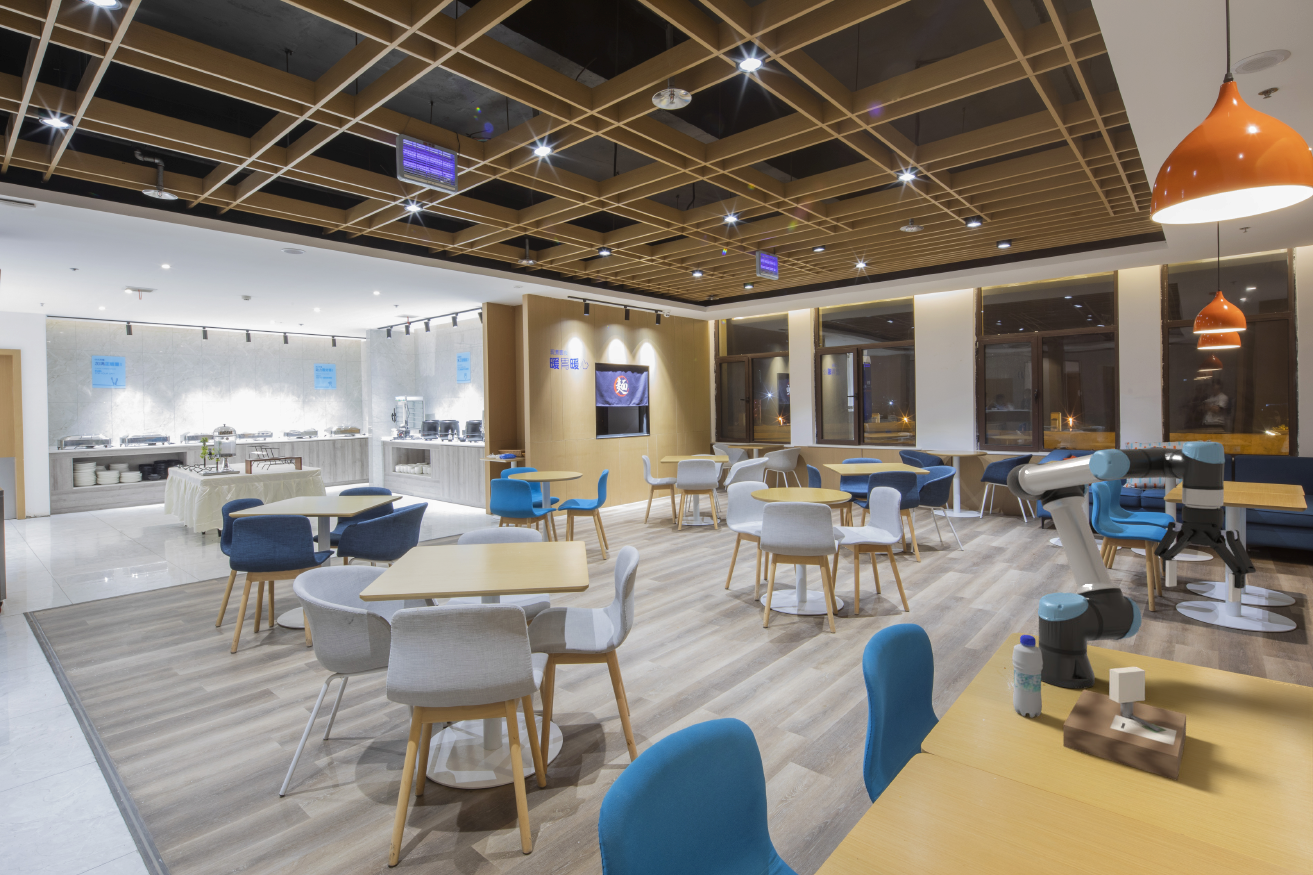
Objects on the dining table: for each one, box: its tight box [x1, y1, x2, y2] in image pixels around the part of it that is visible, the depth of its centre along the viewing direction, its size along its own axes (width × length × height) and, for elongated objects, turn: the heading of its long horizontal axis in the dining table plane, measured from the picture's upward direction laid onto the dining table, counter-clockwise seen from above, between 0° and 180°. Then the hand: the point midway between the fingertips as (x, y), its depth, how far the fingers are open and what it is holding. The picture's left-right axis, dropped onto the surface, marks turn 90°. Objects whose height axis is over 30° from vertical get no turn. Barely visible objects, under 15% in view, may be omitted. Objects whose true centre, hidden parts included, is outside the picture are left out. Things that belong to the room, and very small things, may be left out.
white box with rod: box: [1108, 666, 1160, 731], centre depth 142 cm, size 7×9×11 cm
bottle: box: [1011, 634, 1043, 718], centre depth 157 cm, size 7×7×20 cm
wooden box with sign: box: [1062, 689, 1187, 781], centre depth 144 cm, size 20×24×5 cm
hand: (1201, 593), depth 150 cm, fingers open, 13 cm apart
